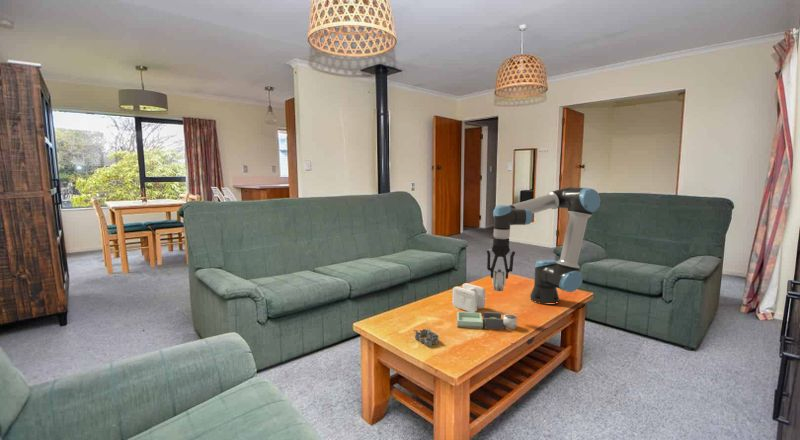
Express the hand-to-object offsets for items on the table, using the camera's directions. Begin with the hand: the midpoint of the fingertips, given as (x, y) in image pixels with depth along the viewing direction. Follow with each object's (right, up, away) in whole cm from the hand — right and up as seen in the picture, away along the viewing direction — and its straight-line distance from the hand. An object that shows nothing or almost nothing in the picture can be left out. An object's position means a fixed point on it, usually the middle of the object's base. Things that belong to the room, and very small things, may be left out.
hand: (498, 284), depth 179 cm
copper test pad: (-4, -16, -6) cm, 17 cm away
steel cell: (0, -3, 0) cm, 3 cm away
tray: (-15, -18, -3) cm, 23 cm away
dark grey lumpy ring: (-37, -21, -21) cm, 47 cm away
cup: (+3, -18, -8) cm, 20 cm away
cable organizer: (-12, -16, +16) cm, 25 cm away
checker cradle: (-4, -18, -6) cm, 19 cm away
